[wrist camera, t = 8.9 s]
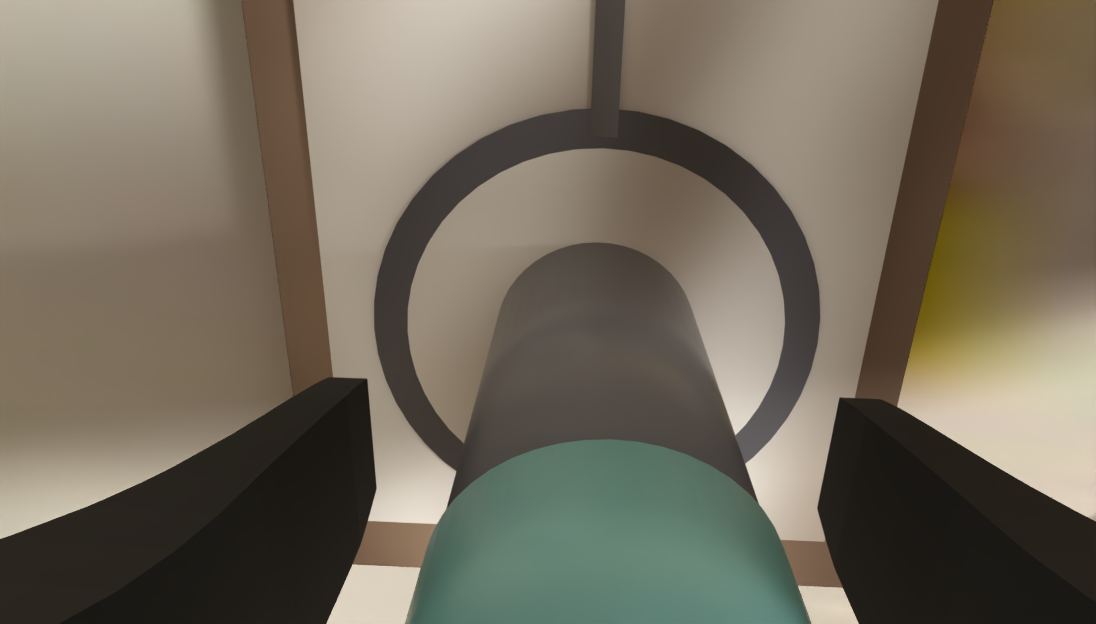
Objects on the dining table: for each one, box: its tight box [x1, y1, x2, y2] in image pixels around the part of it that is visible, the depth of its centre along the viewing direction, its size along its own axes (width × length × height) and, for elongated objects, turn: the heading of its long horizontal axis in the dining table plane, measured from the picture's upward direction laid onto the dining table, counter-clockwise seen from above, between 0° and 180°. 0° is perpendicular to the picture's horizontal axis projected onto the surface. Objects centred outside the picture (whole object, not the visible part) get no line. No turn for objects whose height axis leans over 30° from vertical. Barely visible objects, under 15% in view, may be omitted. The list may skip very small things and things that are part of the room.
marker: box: [405, 242, 811, 624], centre depth 10 cm, size 4×4×10 cm
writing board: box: [242, 0, 994, 588], centre depth 14 cm, size 13×20×2 cm, turn 179°
